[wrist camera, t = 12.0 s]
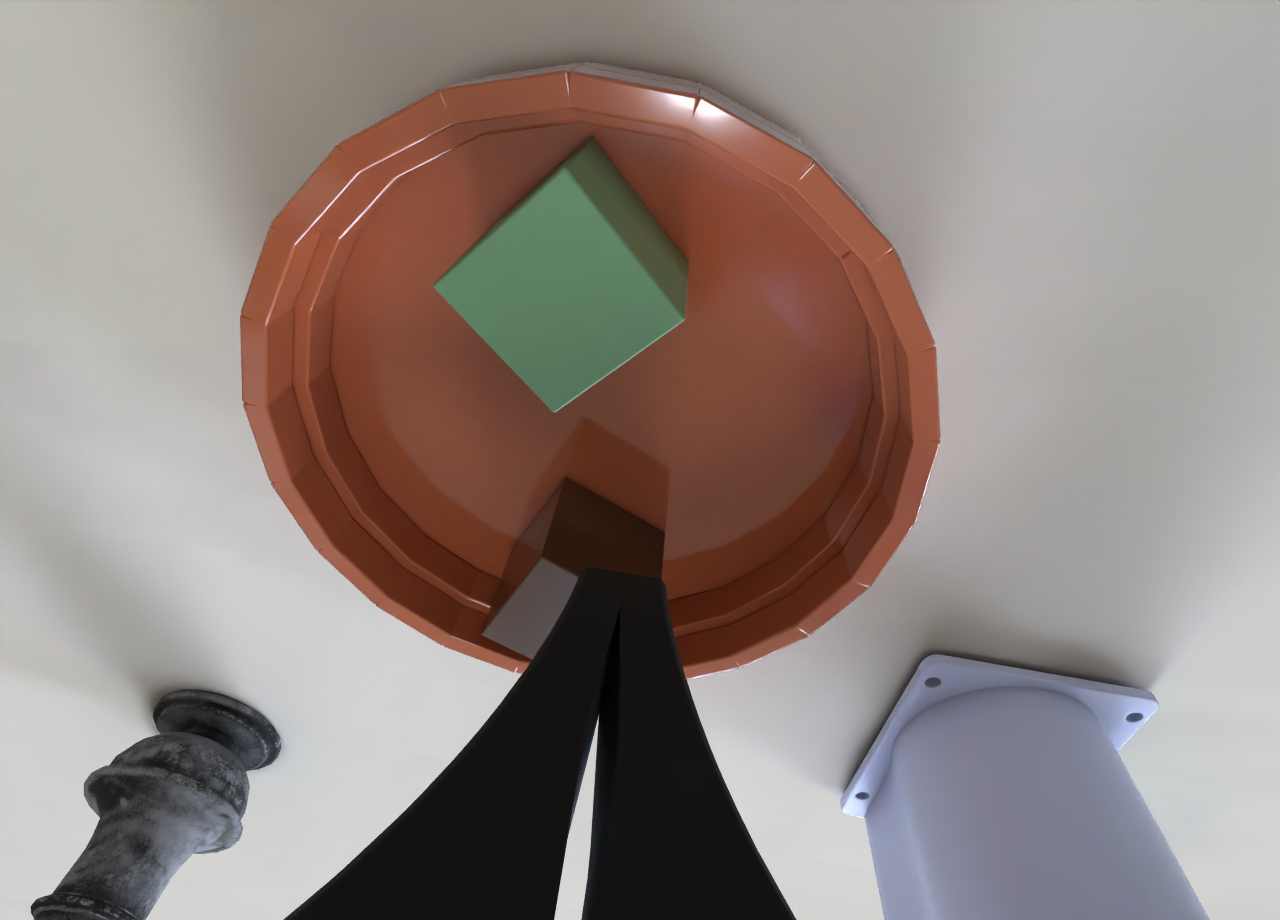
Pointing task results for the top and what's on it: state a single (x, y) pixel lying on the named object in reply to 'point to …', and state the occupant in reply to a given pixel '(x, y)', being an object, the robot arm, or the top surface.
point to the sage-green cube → (571, 279)
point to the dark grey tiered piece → (163, 806)
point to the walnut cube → (566, 562)
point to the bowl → (623, 400)
